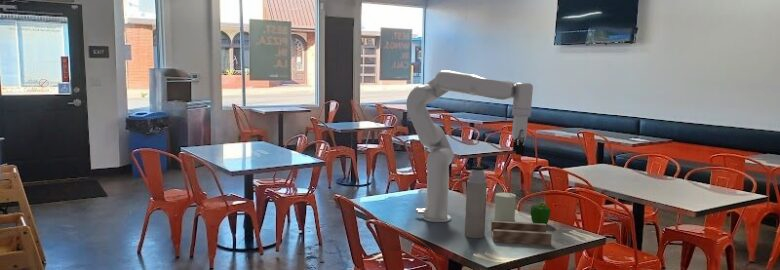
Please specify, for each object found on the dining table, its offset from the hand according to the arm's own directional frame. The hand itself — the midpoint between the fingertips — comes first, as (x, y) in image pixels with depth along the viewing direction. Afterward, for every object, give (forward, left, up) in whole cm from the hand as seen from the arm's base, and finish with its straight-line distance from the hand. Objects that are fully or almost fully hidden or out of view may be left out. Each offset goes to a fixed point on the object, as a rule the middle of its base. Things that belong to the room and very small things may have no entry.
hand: (518, 152), depth 249 cm
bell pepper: (+12, +8, -32) cm, 35 cm away
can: (-3, +11, -32) cm, 34 cm away
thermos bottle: (-17, -16, -32) cm, 40 cm away
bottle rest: (+1, -16, -32) cm, 36 cm away
